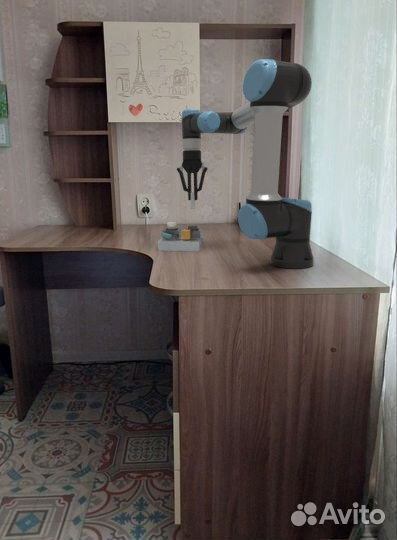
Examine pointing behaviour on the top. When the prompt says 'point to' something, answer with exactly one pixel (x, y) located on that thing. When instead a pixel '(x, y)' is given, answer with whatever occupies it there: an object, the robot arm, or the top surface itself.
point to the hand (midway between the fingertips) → (193, 208)
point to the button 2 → (192, 228)
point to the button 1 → (172, 225)
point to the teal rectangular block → (166, 235)
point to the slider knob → (186, 234)
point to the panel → (181, 241)
